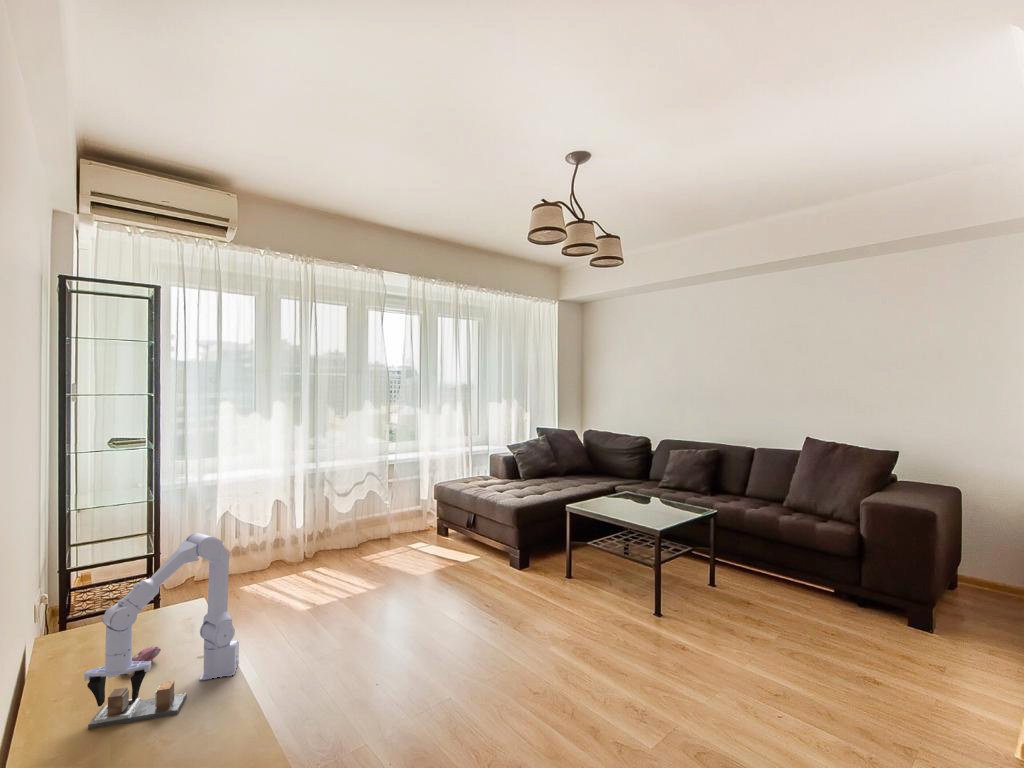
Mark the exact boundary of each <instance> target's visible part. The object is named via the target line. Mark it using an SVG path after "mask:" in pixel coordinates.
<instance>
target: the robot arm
mask: <svg viewBox="0 0 1024 768" xmlns="http://www.w3.org/2000/svg"><path fill="white" fill-rule="evenodd" d="M223 542H224V541H223V540H221V539H219V537H215V536H210V535H207V534H205V533H203V532H192V533H191V534H189V535H188V536H187V537H186V539H185V540H183V541H181V543H180V544H179V545H178V547H177V548H176V550H175V551H174V552H173V553H172V555H170V557H168V559H167V560H166V561H165V562H164V563H163V564H162V565H161V566H160V567H159V568H158V569H157V571H155V572H154V574H153V575H152V576H151V577H150V578H147V579H142V580H140V582H136V583H135V584H133V586H132V587H133V588H132V589H131V590H130V591H129V592H128V593H127V594H126V595H125V596H123V598H122V599H120V598H119V600H118V601H117V603H115V604H114V605H110V607H108V608H107V609H106V610H105V612H104V614H103V616H102V617H101V622H102V623H103V624H104V625H105V626H106V627H105V648H104V649H105V653H104V655H105V657H104V659H105V661H104V663H105V665H104V666H100V667H96V668H91V669H88V670H86V672H85V673H84V682H86V681H88V683H87V688H88V689H89V690H90V691H91V693H92V695H93V697H94V698H95V701H96V705H97V707H103V706H102V705H104V703H105V700H106V680H107V678H108V679H111V678H117V677H118V676H120V675H125V674H132V676H131V677H130V682H131V699H132V701H135V700H136V699H137V698H139V693H140V689H141V685H142V683H143V680H144V679H145V676H146V674H147V672H148V673H149V672H150V671H151V669H152V661H145V662H144V661H143V662H142V661H132V658H133V625H134V624H135V623H136V620H137V617H138V615H139V613H140V612H141V611H142V610H143V609H144V608H145V607H146V606H147V605H148V604H149V603H150V602H151V601H152V600H153V599H154V598H156V596H157V595H158V594H159V593H160V588H161V585H162V584H163V583H165V582H166V581H167V580H168V579H169V578H170V577H171V576H173V575H174V574H175V573H176V572H177V571H178V570H179V569H180V568H181V567H182V566H183V565H185V564H187V563H192V562H198V561H199V560H200V559H199V557H201V558H202V559H204V560H205V561H207V562H208V586H207V587H208V589H207V613H206V614H205V615H204V616H203V621H202V624H201V627H200V629H199V635H200V637H201V638H202V639H203V670H202V673H201V675H200V677H199V678H198V681H206V680H213V679H212V678H214V679H218V678H217V677H220V678H223V677H222V676H227V677H232V675H233V676H234V675H235V673H236V671H237V669H238V667H237V665H238V666H239V665H240V660H239V657H240V648H239V647H240V644H239V643H240V642H239V639H238V640H236V639H235V640H234V637H235V633H236V632H235V631H236V630H235V627H234V626H233V619H232V618H233V617H232V616H231V615H230V613H229V610H228V607H229V606H228V605H229V604H228V599H229V575H230V574H229V573H230V572H229V571H230V569H229V568H230V554H229V553H230V552H229V551H228V550H227V548H226V546H225V545H224V544H223ZM236 668H237V669H236Z"/></svg>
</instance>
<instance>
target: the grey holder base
mask: <svg viewBox="0 0 1024 768" xmlns="http://www.w3.org/2000/svg"><path fill="white" fill-rule="evenodd" d="M187 695H188V693H187V692H184V693H178V694H175V680H170V681H164V682H161V683H160V685H159V686H158V687H157V689H156V690H155V695H154V696H155V697H154V698H152V697H151V698H148V699H141V697H137V699H136V700H135V701H132V698H129V704H128V706H127V707H126V709H125V710H124V711H123V712H122V714H121V715H115V716H108V702H107V703H106V704H105V705H103V706H101V708H100V709H99V711H98V712H97V713H96V714H95V715H94V717H93V718H92V719H91V721H90V722H89V723H88V725H87V730H91V729H90V728H93V729H97V728H96V727H99V728H102V727H103V726H104V727H110V725H111V726H115V724H117V725H122V724H127V723H133V722H140V721H145V720H146V721H147V720H150V719H151V720H152V719H158V718H163V717H169V716H175V715H176V716H177V715H178V714H179V712H180V710H181V708H183V707H182V706H183V705H184V703H185V701H186V699H187Z"/></svg>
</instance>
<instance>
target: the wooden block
mask: <svg viewBox="0 0 1024 768" xmlns="http://www.w3.org/2000/svg"><path fill="white" fill-rule="evenodd" d="M129 696H130V689H128V687H127V686H126V687H121V688H120V687H119V688H114V689H113V691H111V693H110V694H109V695H108V697H107V703H108V716H115V715H121V714H122V712H123V711H124V710H125V709H126V707H127V706H128V704H129V699H130V697H129Z"/></svg>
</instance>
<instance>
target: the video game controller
mask: <svg viewBox="0 0 1024 768" xmlns="http://www.w3.org/2000/svg"><path fill="white" fill-rule="evenodd" d="M161 651H162V650H161V648H160V647H158V646H156V645H152V646H151V647H146V648H143V649H142V650H140V651H139V652H138V653H137V654H135V655H134V656H132V661H142V662H145V661H151V662H152V661H153V660H155V658H156V657H157V656H158V655H159V654H160V652H161Z"/></svg>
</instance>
